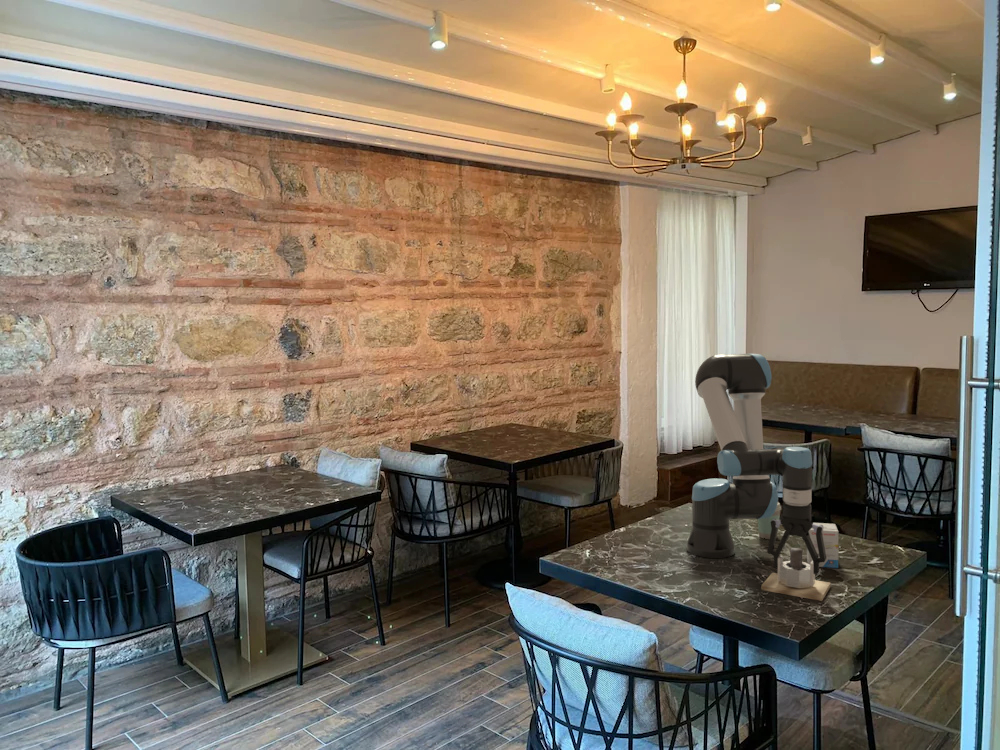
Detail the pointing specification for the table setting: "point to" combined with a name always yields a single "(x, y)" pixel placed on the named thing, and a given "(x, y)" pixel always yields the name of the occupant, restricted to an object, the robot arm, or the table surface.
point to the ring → (795, 575)
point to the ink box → (826, 545)
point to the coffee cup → (768, 523)
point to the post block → (810, 592)
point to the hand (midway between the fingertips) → (796, 581)
